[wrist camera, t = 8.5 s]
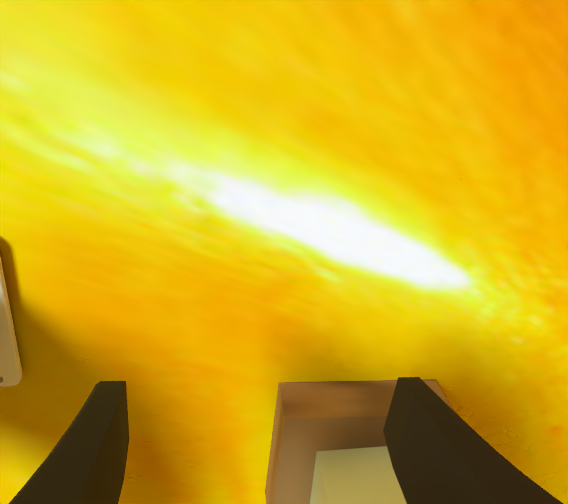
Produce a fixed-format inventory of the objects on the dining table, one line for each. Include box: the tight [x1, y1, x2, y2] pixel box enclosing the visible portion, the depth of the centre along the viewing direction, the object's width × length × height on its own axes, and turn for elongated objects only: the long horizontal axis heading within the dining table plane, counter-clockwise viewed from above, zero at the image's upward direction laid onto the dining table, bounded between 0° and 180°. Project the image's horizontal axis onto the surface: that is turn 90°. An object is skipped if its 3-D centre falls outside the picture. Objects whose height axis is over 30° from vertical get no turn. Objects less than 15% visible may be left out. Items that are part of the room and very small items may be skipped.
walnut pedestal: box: [265, 379, 454, 504], centre depth 28 cm, size 9×9×3 cm
